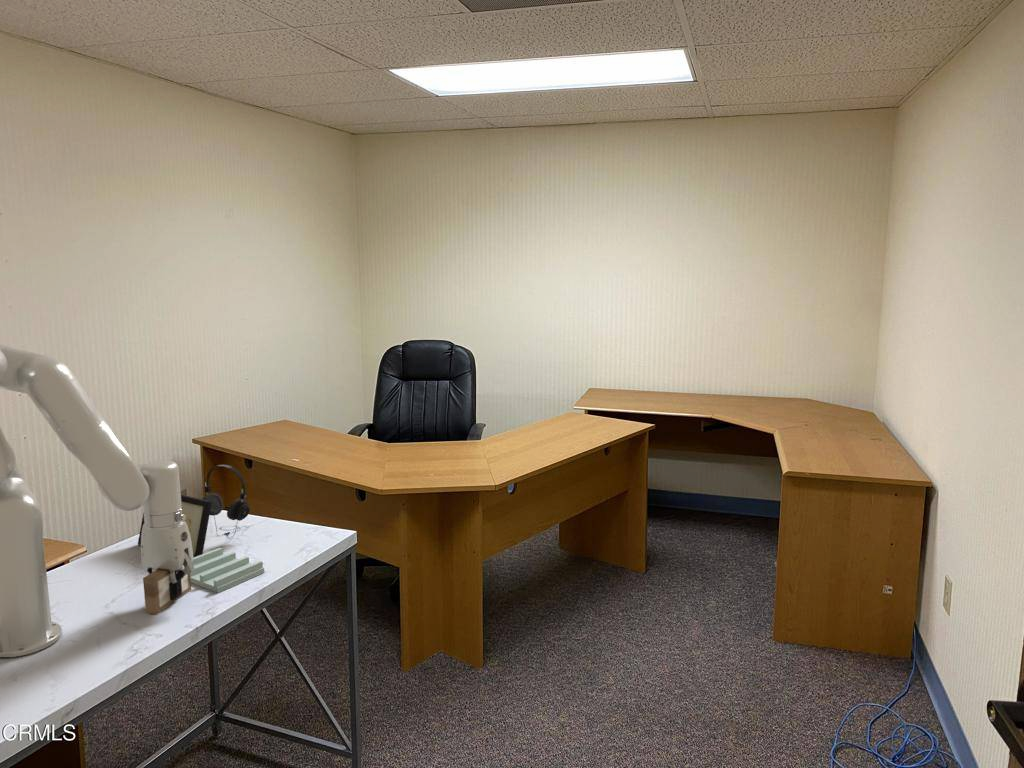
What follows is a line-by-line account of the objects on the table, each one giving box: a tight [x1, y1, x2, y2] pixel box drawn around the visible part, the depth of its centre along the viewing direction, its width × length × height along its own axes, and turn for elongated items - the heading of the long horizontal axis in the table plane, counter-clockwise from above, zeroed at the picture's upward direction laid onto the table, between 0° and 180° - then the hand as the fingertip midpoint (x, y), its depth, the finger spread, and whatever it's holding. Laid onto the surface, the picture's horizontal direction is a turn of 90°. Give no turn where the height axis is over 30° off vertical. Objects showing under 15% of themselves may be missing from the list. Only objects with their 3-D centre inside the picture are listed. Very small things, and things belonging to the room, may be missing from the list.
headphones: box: [202, 464, 251, 538], centre depth 202 cm, size 15×11×20 cm
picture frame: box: [137, 494, 212, 558], centre depth 193 cm, size 23×9×15 cm, turn 62°
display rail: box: [190, 547, 265, 594], centre depth 178 cm, size 13×17×3 cm
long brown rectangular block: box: [142, 565, 192, 615], centre depth 163 cm, size 12×3×8 cm, turn 168°
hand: (169, 596), depth 164 cm, fingers closed on long brown rectangular block, 2 cm apart
